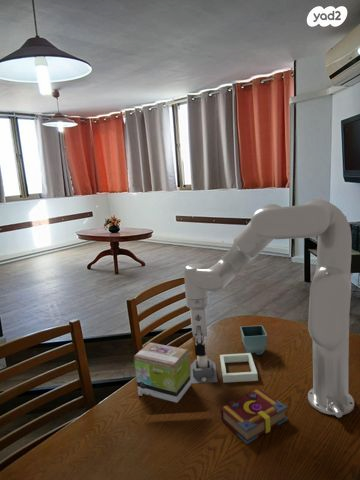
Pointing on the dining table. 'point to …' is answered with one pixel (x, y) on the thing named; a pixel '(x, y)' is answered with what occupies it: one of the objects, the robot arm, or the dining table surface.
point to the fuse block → (203, 372)
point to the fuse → (202, 360)
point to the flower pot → (254, 339)
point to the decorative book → (253, 415)
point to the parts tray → (242, 375)
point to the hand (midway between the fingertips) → (200, 347)
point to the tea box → (162, 371)
